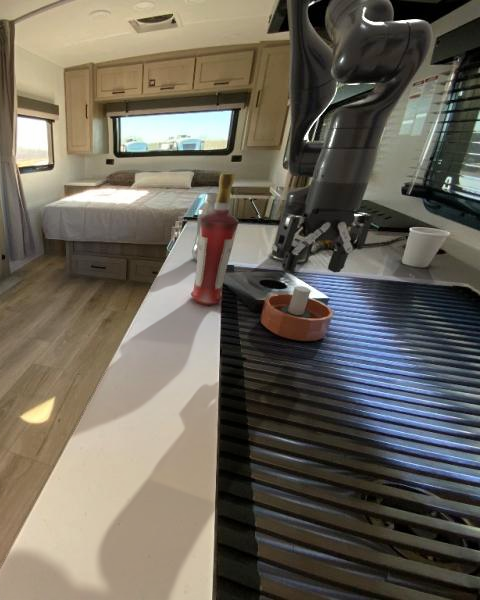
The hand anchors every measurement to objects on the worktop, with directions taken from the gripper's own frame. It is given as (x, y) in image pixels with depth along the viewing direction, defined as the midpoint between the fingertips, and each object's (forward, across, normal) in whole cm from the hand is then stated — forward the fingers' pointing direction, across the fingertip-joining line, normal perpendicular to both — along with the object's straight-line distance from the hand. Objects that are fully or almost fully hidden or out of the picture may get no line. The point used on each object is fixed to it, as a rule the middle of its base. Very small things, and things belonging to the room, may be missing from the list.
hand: (310, 271), depth 61 cm
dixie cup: (+13, +58, +34) cm, 68 cm away
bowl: (+12, 0, 0) cm, 12 cm away
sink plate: (+12, +4, +15) cm, 20 cm away
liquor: (+12, -13, +13) cm, 22 cm away
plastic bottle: (+12, -3, +41) cm, 43 cm away
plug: (+12, 0, 0) cm, 12 cm away
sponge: (+13, +49, +56) cm, 75 cm away
